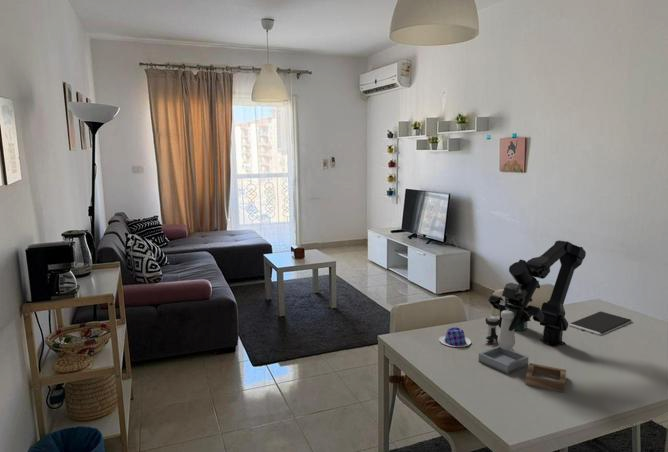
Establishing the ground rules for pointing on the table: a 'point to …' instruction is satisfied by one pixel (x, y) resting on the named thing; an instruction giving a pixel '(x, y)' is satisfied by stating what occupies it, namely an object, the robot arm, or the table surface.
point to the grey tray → (503, 359)
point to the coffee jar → (522, 326)
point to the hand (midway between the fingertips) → (504, 328)
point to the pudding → (455, 338)
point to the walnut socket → (546, 382)
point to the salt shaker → (506, 331)
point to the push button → (492, 329)
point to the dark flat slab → (600, 323)
